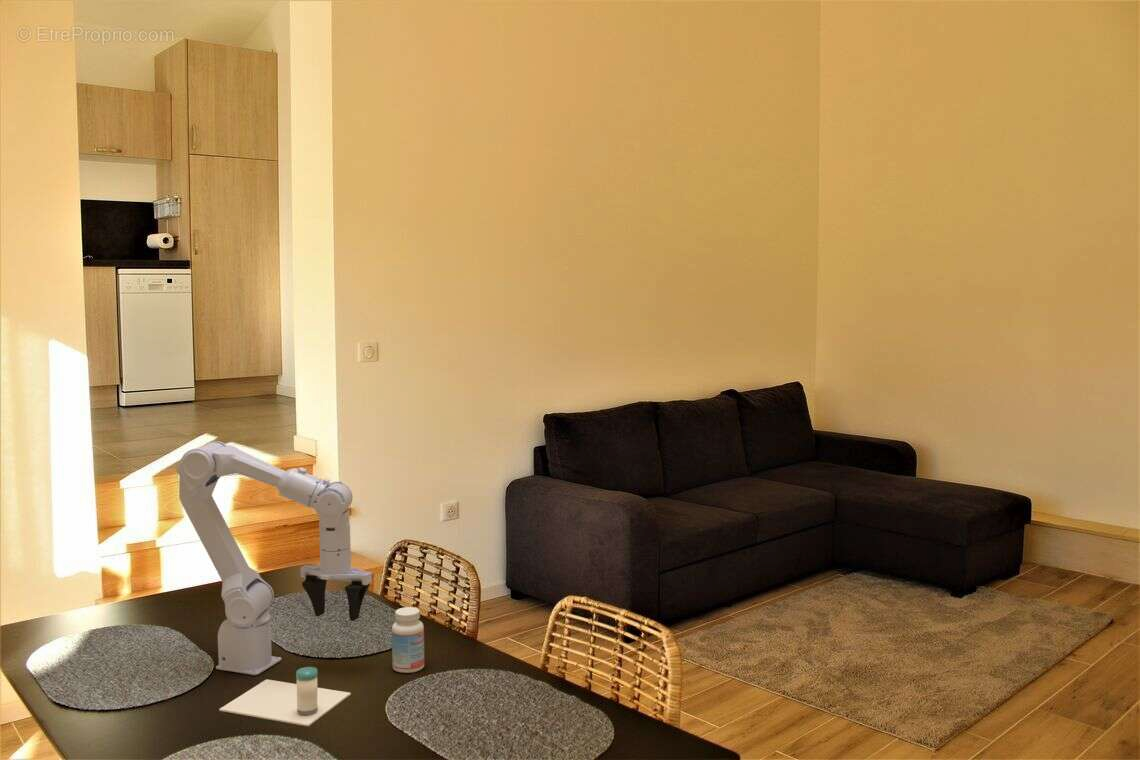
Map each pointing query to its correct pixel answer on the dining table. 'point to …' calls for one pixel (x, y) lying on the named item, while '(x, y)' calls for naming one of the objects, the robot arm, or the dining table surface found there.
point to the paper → (281, 703)
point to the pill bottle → (407, 641)
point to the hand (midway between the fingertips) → (337, 616)
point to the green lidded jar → (307, 691)
